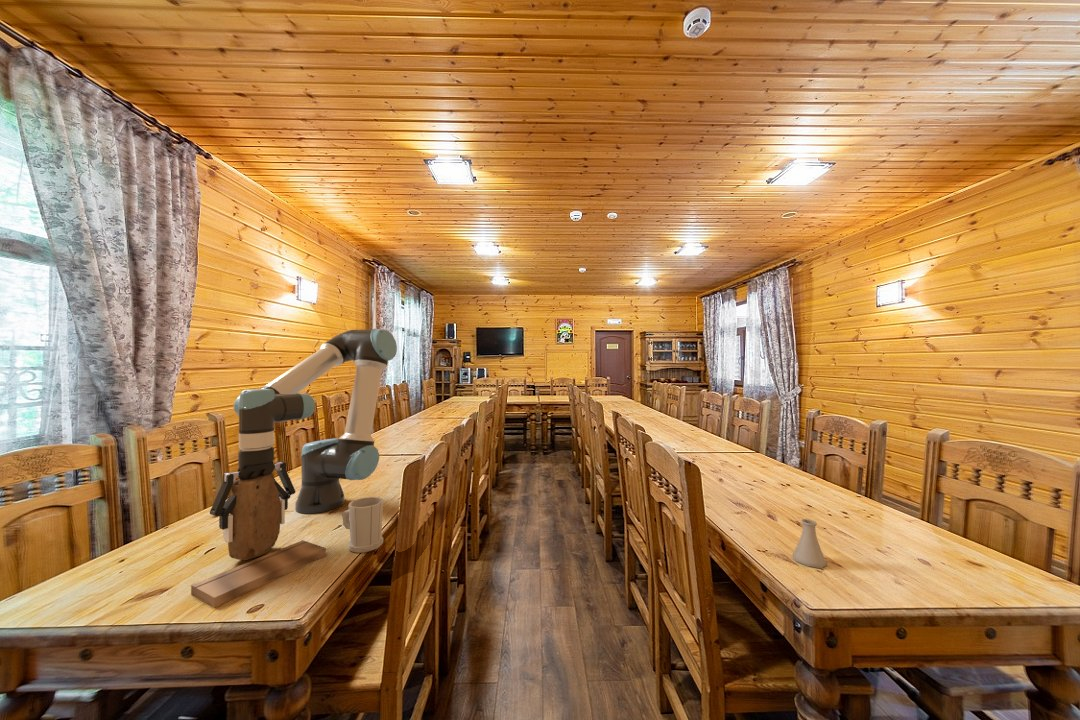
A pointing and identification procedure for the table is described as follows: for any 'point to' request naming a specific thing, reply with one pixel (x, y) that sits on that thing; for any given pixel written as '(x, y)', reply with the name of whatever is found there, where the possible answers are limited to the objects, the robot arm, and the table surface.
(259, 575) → the board
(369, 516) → the cup
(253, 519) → the brown pitted rock
